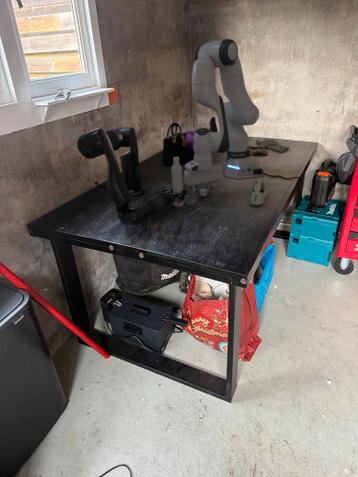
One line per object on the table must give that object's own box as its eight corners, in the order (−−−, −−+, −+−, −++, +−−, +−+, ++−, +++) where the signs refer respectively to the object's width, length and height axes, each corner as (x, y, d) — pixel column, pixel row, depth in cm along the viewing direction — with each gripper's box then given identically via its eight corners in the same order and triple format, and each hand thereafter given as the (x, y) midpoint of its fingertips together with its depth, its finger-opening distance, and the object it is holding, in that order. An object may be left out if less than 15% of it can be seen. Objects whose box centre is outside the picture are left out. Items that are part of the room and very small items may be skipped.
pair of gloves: (254, 158, 215) (254, 150, 212) (233, 149, 235) (233, 142, 233) (291, 151, 224) (292, 143, 222) (268, 143, 245) (268, 136, 242)
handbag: (173, 167, 207) (170, 126, 195) (161, 165, 212) (158, 125, 199) (189, 158, 222) (188, 119, 209) (178, 157, 226) (176, 119, 214)
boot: (222, 140, 259) (222, 113, 249) (219, 148, 239) (219, 120, 229) (211, 140, 261) (211, 114, 251) (207, 148, 241) (207, 120, 231)
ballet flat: (269, 188, 169) (270, 173, 165) (265, 208, 149) (266, 191, 145) (252, 187, 171) (253, 172, 167) (246, 206, 151) (247, 190, 147)
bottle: (185, 204, 157) (183, 157, 146) (177, 207, 155) (174, 160, 144) (180, 201, 161) (177, 155, 149) (171, 204, 159) (168, 157, 147)
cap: (208, 193, 168) (208, 188, 167) (206, 196, 165) (206, 191, 164) (200, 192, 169) (200, 188, 168) (198, 195, 166) (198, 191, 165)
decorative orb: (204, 151, 235) (204, 129, 228) (194, 156, 225) (193, 134, 217) (186, 149, 243) (186, 128, 235) (175, 154, 232) (174, 132, 224)
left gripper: (169, 198, 139) (193, 185, 151) (145, 191, 147) (169, 180, 159) (171, 214, 143) (193, 200, 154) (147, 207, 151) (170, 194, 162)
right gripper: (219, 158, 165) (218, 184, 172) (181, 165, 159) (182, 192, 165) (225, 162, 160) (224, 188, 166) (186, 169, 153) (187, 196, 160)
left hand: (181, 190), depth 156 cm, fingers closed on bottle, 5 cm apart
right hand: (203, 190), depth 166 cm, fingers open, 8 cm apart
